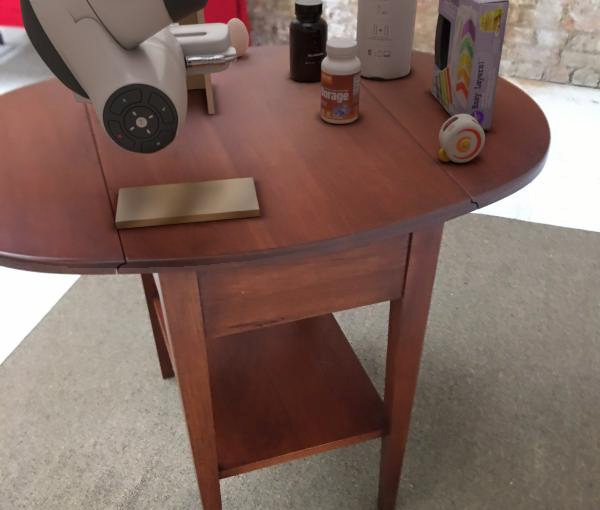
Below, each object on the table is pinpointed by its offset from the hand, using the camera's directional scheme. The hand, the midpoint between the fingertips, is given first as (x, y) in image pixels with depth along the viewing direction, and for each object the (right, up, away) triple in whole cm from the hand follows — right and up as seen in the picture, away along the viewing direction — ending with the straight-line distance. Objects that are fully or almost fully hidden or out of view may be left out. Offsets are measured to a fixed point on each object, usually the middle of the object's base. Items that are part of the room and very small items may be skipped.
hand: (148, 31), depth 80 cm
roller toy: (+42, -12, +11) cm, 45 cm away
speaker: (+35, +14, +38) cm, 53 cm away
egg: (+7, +21, +45) cm, 50 cm away
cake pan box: (+45, +1, +24) cm, 51 cm away
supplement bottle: (+21, +13, +36) cm, 44 cm away
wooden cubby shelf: (-5, +4, +28) cm, 29 cm away
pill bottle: (+26, -1, +23) cm, 34 cm away
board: (+5, -21, +3) cm, 22 cm away
